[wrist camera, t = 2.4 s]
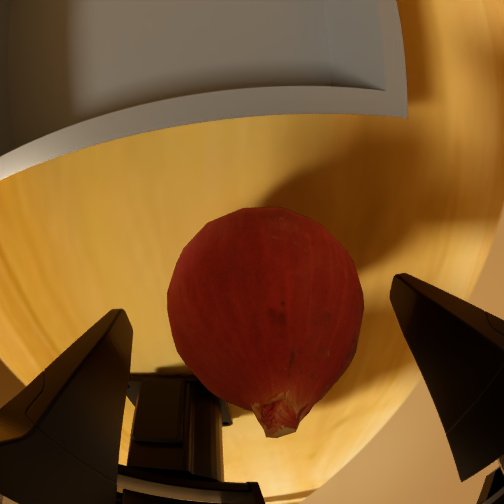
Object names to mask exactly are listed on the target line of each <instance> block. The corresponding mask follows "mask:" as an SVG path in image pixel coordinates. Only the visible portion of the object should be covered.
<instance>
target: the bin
mask: <svg viewBox="0 0 504 504" xmlns="http://www.w3.org/2000/svg"><path fill="white" fill-rule="evenodd" d="M282 114H360V115H376V116H389V117H399V118H408V99H407V78H406V64H405V54H404V45H403V37H402V30H401V23H400V17H399V11H398V6H397V1H396V0H0V180H1V179H4V178H6V177H8V176H10V175H13V174H15V173H17V172H20V171H22V170H24V169H27V168H29V167H32V166H34V165H37V164H40V163H42V162H45V161H48V160H50V159H53V158H56V157H59V156H62V155H65V154H68V153H71V152H74V151H77V150H80V149H83V148H87V147H90V146H94V145H97V144H101V143H104V142H108V141H112V140H115V139H119V138H123V137H127V136H132V135H136V134H140V133H145V132H149V131H154V130H159V129H164V128H170V127H175V126H181V125H187V124H193V123H200V122H207V121H214V120H222V119H231V118H241V117H252V116H265V115H282Z"/></svg>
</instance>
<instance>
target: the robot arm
mask: <svg viewBox="0 0 504 504" xmlns="http://www.w3.org/2000/svg"><path fill="white" fill-rule="evenodd" d="M390 301H391V304H392V306H393V309H394V311H395V314H396V317H397V319H398V322H399V324H400V327H401V330H402V332H403V335H404V337H405V339H406V341H407V343H408V346H409V348H410V350H411V352H412V354H413V356H414V358H415V360H416V362H417V365H418V367H419V369H420V371H421V374H422V376H423V378H424V380H425V383H426V385H427V387H428V390H429V392H430V394H431V397H432V399H433V401H434V404H435V407H436V409H437V412H438V414H439V417H440V419H441V422H442V425H443V427H444V430H445V433H446V436H447V439H448V442H449V445H450V448H451V451H452V454H453V457H454V460H455V463H456V467H457V470H458V474H459V477H460V480H461V482H463V481H465V480H467V479H468V478H470V477H471V476H473V475H475V474H476V473H478V472H479V471H481V470H482V469H484V468H485V467H487V466H488V465H490V464H491V463H493V462H494V461H495V460H497V461H498V463H499V465H500V466H499V467H498V468H497V469H495V470H494V471H493V472H491V473H490V474H489V475H487V476H486V479H485V482H484V485H483V488H482V491H481V493H480V496H479V499H478V501H477V504H504V320H502V319H500V318H498V317H496V316H494V315H492V314H490V313H488V312H485V311H484V310H482V309H480V308H478V307H476V306H474V305H472V304H470V303H468V302H466V301H464V300H462V299H460V298H458V297H456V296H454V295H452V294H449V293H447V292H445V291H443V290H441V289H439V288H437V287H435V286H433V285H431V284H428V283H426V282H424V281H422V280H420V279H418V278H415V277H413V276H411V275H409V274H407V273H401V274H396V275H395V276H394V277H393V281H392V286H391V290H390ZM132 339H133V329H132V326H131V323H130V321H129V319H128V317H127V314H126V312H125V311H124V310H123V309H112V310H110V311H109V312H108V313H107V314H106V315H105V316H103V317H102V318H101V319H100V320H99V321H98V322H97V323H95V324H94V325H93V326H92V327H91V328H90V329H89V330H87V331H86V332H85V333H84V334H83V335H82V336H81V337H80V338H78V339H77V340H76V341H75V342H74V343H73V344H72V345H71V346H70V347H68V348H67V349H66V350H65V351H64V352H63V353H62V354H61V355H60V356H59V357H58V358H56V359H55V360H54V361H53V362H52V363H51V364H50V365H49V366H48V367H47V368H46V369H45V370H44V371H42V372H41V373H40V374H39V375H38V376H37V377H36V378H35V379H34V380H33V381H32V382H31V383H30V384H29V385H28V386H26V387H25V388H24V389H23V390H22V391H21V392H20V393H19V394H17V395H16V396H15V397H14V398H12V399H11V400H10V401H9V402H8V403H6V404H5V405H4V406H3V407H2V408H0V504H265V501H264V499H263V496H262V493H261V490H260V487H259V484H258V482H246V483H234V482H224V465H223V443H222V427H223V426H230V425H232V424H233V421H232V416H231V413H230V410H229V407H228V404H227V401H225V400H223V399H221V398H219V397H217V396H216V395H214V394H213V393H212V392H210V391H209V390H208V389H207V388H206V387H205V386H204V385H203V384H202V383H201V381H200V380H199V379H198V378H197V377H196V376H195V375H189V376H155V377H136V376H129V375H130V366H131V351H132ZM126 396H127V397H128V398H129V400H130V401H131V402H132V404H133V405H134V406H135V411H134V417H133V423H132V429H131V435H130V436H131V438H130V445H129V452H128V459H127V466H125V465H121V464H118V461H119V449H120V439H121V430H122V422H123V415H124V407H125V400H126ZM117 487H121V488H125V489H123V493H120V492H117ZM127 489H129V490H127ZM131 490H133V491H131ZM135 491H137V492H135ZM139 492H142V493H139ZM145 493H147V494H145ZM149 494H152V495H149ZM155 495H157V496H155ZM160 496H163V497H160ZM166 497H170V498H166ZM173 498H176V499H173ZM180 499H183V500H180ZM188 500H192V501H188ZM197 501H202V502H197ZM209 502H216V503H209Z"/></svg>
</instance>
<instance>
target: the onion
mask: <svg viewBox="0 0 504 504" xmlns="http://www.w3.org/2000/svg"><path fill="white" fill-rule="evenodd" d="M167 311H168V317H169V322H170V327H171V331H172V336H173V340H174V343H175V346H176V349H177V352H178V354H179V355H180V357H181V358H182V360H183V361H184V362H185V364H186V365H187V366H188V368H189V369H190V370H191V371H192V372H193V373H194V375H195V376H196V377H197V378H198V379H199V380H200V381H201V383H202V384H203V385H204V386H205V387H206V388H207V389H208V390H209V391H210V392H212V393H213V394H214V395H216V396H217V397H219V398H221V399H223V400H225V401H227V402H229V403H232V404H234V405H236V406H238V407H241V408H243V409H245V410H250V411H253V412H254V414H255V416H256V418H257V420H258V422H259V423H260V425H261V426H262V428H263V429H264V432H265V435H266V437H270V438H278V437H281V436H284V435H287V434H290V433H294V432H296V430H297V428H298V425H299V423H300V421H301V420H302V419H303V418H304V417H305V416H306V415H307V414H308V413H309V412H310V410H311V409H312V407H313V405H314V404H316V403H317V402H318V401H319V400H321V399H322V398H323V397H324V396H325V394H326V393H327V392H328V391H329V390H330V389H331V388H332V386H333V385H334V384H335V383H336V382H337V381H338V379H339V378H340V377H341V376H342V375H343V373H344V372H345V370H346V369H347V367H348V366H349V364H350V363H351V361H352V359H353V357H354V355H355V353H356V349H357V343H358V338H359V333H360V328H361V323H362V317H363V312H364V298H363V291H362V288H361V284H360V281H359V278H358V275H357V271H356V268H355V265H354V262H353V260H352V259H351V257H350V255H349V254H348V252H347V251H346V249H345V248H344V247H343V246H342V245H341V244H340V243H339V242H338V241H337V240H336V239H335V238H334V237H333V236H332V235H331V234H330V233H329V232H328V231H327V230H326V229H325V228H324V227H323V226H322V225H321V224H319V223H317V222H315V221H314V220H312V219H310V218H307V217H305V216H302V215H300V214H297V213H294V212H292V211H289V210H287V209H284V208H282V207H259V208H242V209H239V210H237V211H235V212H232V213H230V214H227V215H225V216H223V217H220V218H218V219H215V220H213V221H211V222H208V223H207V224H206V225H205V226H204V227H203V228H202V229H201V230H200V231H199V232H198V233H197V234H196V236H195V237H194V238H193V239H192V240H191V241H190V242H189V243H188V244H187V245H186V246H185V247H184V249H183V251H182V253H181V255H180V257H179V259H178V261H177V263H176V266H175V269H174V272H173V276H172V279H171V282H170V285H169V288H168V292H167Z"/></svg>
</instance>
